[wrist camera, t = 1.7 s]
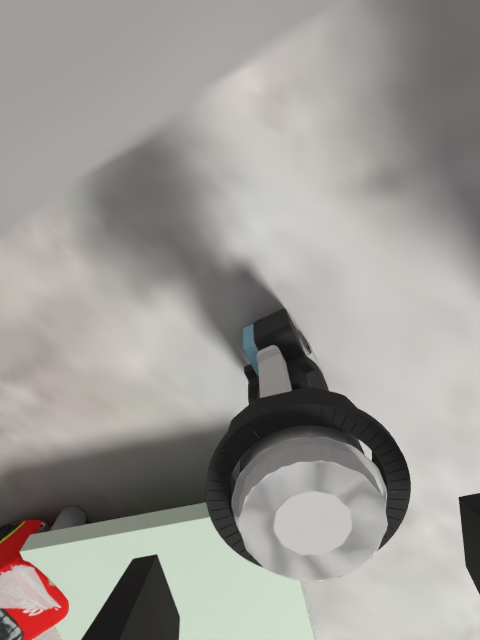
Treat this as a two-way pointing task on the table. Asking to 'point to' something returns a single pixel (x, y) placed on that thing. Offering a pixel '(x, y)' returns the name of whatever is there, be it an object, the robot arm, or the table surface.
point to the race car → (26, 587)
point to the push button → (303, 467)
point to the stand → (169, 575)
